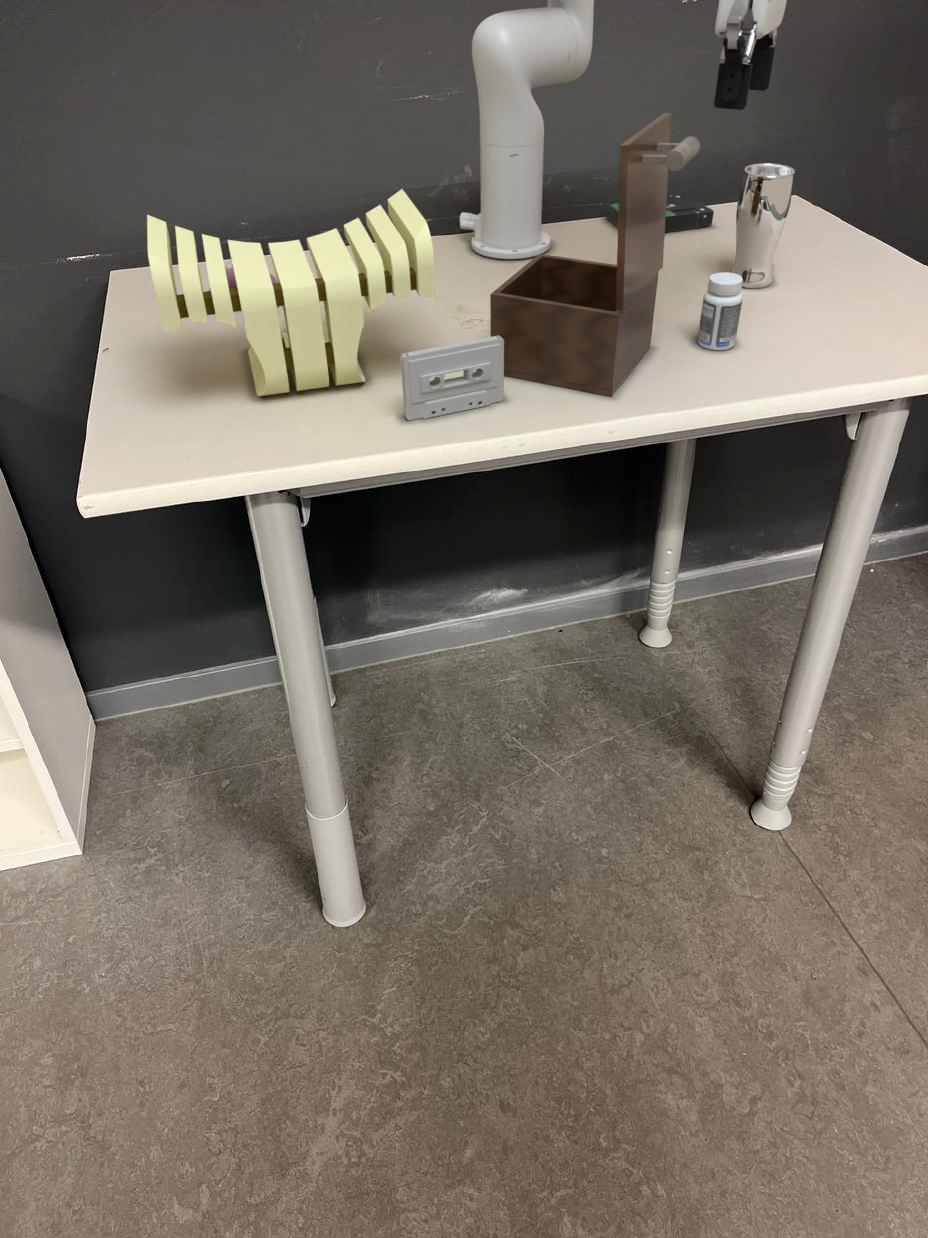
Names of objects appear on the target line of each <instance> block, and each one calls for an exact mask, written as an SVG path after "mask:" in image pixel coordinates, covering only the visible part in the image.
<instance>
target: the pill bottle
mask: <svg viewBox="0 0 928 1238" xmlns="http://www.w3.org/2000/svg"><path fill="white" fill-rule="evenodd" d="M742 281H743V279H742V277H741V276H740V275H738V274H734V273H730V272H728V271H727V272H726V271H724V272H723V271H722V272H716V273H712V274H711V275H710V276H709V278H708V284H707V290H706V291H705V292H704V293H703V297H702V298H703V299H702V304H701V311H700V318H699V327H698V334H697V343H698V345H699V346H700V347H702V348H704V349H707V350H711V351H727V350H730V349H732V348H733V347H734V346H735V344H736V342H737V341H736V340H737V335H738V330H739V329H738V328H739V323H740V318H741V311H742V305H743V299H744V298H743V294H742V292H741V291H742V288H743V287H742Z"/></svg>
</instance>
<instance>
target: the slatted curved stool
mask: <svg viewBox="0 0 928 1238" xmlns="http://www.w3.org/2000/svg"><path fill="white" fill-rule="evenodd" d="M387 209H388V214H387V212H386V211H385V210H384V208H383V206H382V204H379V205H377V206H375V207H373V208H372V209H371V210H369V211H367V212H366V213H365V221H366V226H367V229H368V230H369V232H370V234H371V236H372V238H373V240H374V242H373V240H372V238H371V237H370V235H369V233H368V232H367V230H366V228H365V227H364V225H363V223H362V221H361V219H360V218H359V217H357V218H355V219H353V220H350V221H348V222H347V223H344V224H343V231H344V237H345V238H346V241H347V243H348V245H349V247H350V250H351V251H352V252H351V253H352V254H353V257H354V260H355V262H354V260H353V257H352V256H351V254H350V252H349V250H348V249H347V246H346V244H345V242H344V240H343V238H342V237H341V234H340V232H339V230H338V228H337V227H335V228H333V229H331V230H328V231H325V232H322V233H319V234H316V235H312V236H309V237H306V244H307V249H308V251H309V254H310V257H311V260H312V263H313V265H314V268H315V271H316V275H317V277H316V278H315V276H314V274H313V272H312V269H311V267H310V264H309V261H308V258H307V256H306V254H305V251H304V248H303V246H302V243H301V241H300V239H295V240H288V241H280V242H279V241H277V242H268V244H267V245H268V251H269V252H268V253H269V255H270V258H271V262H272V266H273V269H274V272H275V276H276V277H275V278H276V280H277V282H278V283H274V284H272V282H271V278H270V275H269V274H270V271H269V268H268V264H267V262H266V258H265V255H264V252H263V251H264V250H263V248H262V244H261V243H260V242H251V241H239V240H234V239H233V240H231V239H227V245H228V250H229V255H230V261H231V265H232V266H233V270H234V275H235V280H236V285H237V288H231V289H229V287H228V282H227V277H226V271H225V266H226V265H225V263H224V262H225V261H224V256H223V252H222V251H223V250H222V247H221V241H220V237H216V236H213V235H212V236H211V235H207V234H204V233H201V239H202V245H203V251H204V257H205V264H206V271H207V276H208V282H209V289H210V288H211V291H209V290H206V291H204V289H203V283H202V277H201V271H200V265H199V259H198V252H197V251H198V250H197V244H196V239H195V234H194V231H193V230H189V229H188V228H183V227H180V226H177V225H174V229H175V240H176V241H175V242H176V252H177V263H178V264H177V265H178V271H179V277H180V282H181V287H182V292H183V293H180V294H178V290H177V285H176V281H175V275H174V267H173V263H172V262H173V260H172V259H173V258H172V251H171V241H170V240H171V239H170V234H169V229H168V225H167V222H166V221H165V220H161V219H160V218H157V217H155V216H152V215H149V214H146V231H147V232H146V233H147V237H146V238H147V240H146V241H147V243H146V244H147V257H148V263H149V269H150V274H151V279H152V283H153V288H154V293H155V296H156V301H157V305H158V309H159V313H160V319H161V323H162V326H163V329H164V332H167V331H170V330H173V329H175V328H178V327H182V326H183V325H182V324H183V323H182V319H185V318H186V319H187V318H188V319H189V323H190V324H194V323H195V324H196V323H205V322H209V318H208V316H210V315H211V316H212V315H215V318H216V323H220V324H225V325H229V326H231V327H233V328H235V329H237V324H236V320H235V314H234V313H235V312H236V313H237V312H241V317H242V322H243V326H244V331H245V337H246V340H247V341H248V342H249V344H250V347H249V349H248V351H247V353H248V359H249V363H250V368H251V373H252V377H253V383H254V387H255V392H256V395H257V396H258V397H263V396H271V395H277V394H286V393H290V383H289V377H288V376H289V375H288V371H290V372H291V376H292V379H293V383H294V386H295V391H297V392H300V391H308V390H315V389H322V388H329V387H330V378H329V377H330V376H329V371H330V374H331V378H332V379H333V383H334V385H335V386H337V387H338V386H342V385H343V386H344V385H351V384H357V383H364V382H366V377H365V375H364V373H363V371H362V368H361V366H360V363H359V361H358V352H359V345H360V339H361V336H362V331H363V328H364V325H365V320H364V309H363V299H362V297H363V298H364V300H365V302H366V305H367V306H368V308H369V310H370V312H373V311H374V309H376V308H377V307H378V306H380V305H381V304H383V303H386V302H387V301H388V300H387V294H392V296H393V298H394V299H399V298H407V297H412V291H415V292H416V294H417V295H418V297H423V298H432V299H436V298H437V297H436V296H437V295H436V275H435V256H434V246H433V241H432V237H431V231H430V229H429V225H428V222H427V220H426V219H425V218H424V216H423V215H422V213H421V212H420V211H419V210H418V207H417V206H415V204H414V203H413V201H412V199H410V197H409V196H408V194H407V193H406V192H405V191H404V189H403V188H401V189H400V190H398V191H397V192H395V194H393V195H391V196H390V197H389V198H387ZM374 243H375V244H374ZM375 245H376V246H375ZM355 263H356V264H355ZM320 302H323V309H324V314H325V321H326V327H324V325H323V319H322V312H321V304H320ZM278 307H282V311H283V315H284V321H285V327H286V328H285V329H286V332H281V325H280V319H279V313H278Z"/></svg>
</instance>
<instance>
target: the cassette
mask: <svg viewBox="0 0 928 1238" xmlns="http://www.w3.org/2000/svg"><path fill="white" fill-rule="evenodd" d="M400 370H401V383H402V396H403V397H402V398H403V410H404V417H405V418H406V419H407V420H408V421H414V420H415V421H416V420H419V419H423V420H426V419H431V418H434V417H435V418H436V417H440V416H444V415H445V416H446V415H449V414H454V413H458V412H463V411H469V410H473V409H478V408H482V407H487V406H491V404H495V403H500V402H502V401H504V398H505V397H504V396H505V395H504V394H505V393H504V391H505V389H504V388H505V376H504V340H503V338H502V337H501V336H499V335H498V336H493V337H491V336H489V337H483V338H478V339H471V340H467V341H462V342H457V343H450V344H446V345H440V346H435V347H430V348H425V349H419V350H415V351H409V352H403V353H402V354H401V355H400ZM456 372H463V375H462V376H461V375H460V376H457V377H451V378H446V379H445V375H447V374H452V373H456Z"/></svg>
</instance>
